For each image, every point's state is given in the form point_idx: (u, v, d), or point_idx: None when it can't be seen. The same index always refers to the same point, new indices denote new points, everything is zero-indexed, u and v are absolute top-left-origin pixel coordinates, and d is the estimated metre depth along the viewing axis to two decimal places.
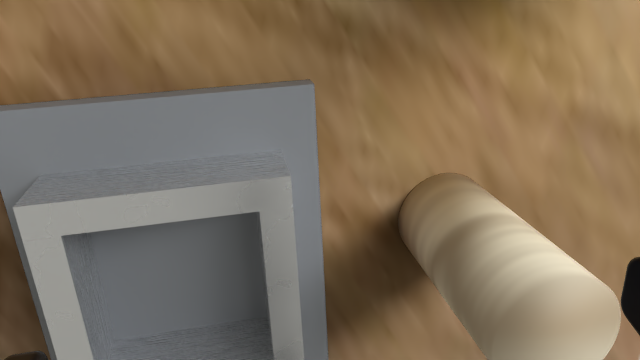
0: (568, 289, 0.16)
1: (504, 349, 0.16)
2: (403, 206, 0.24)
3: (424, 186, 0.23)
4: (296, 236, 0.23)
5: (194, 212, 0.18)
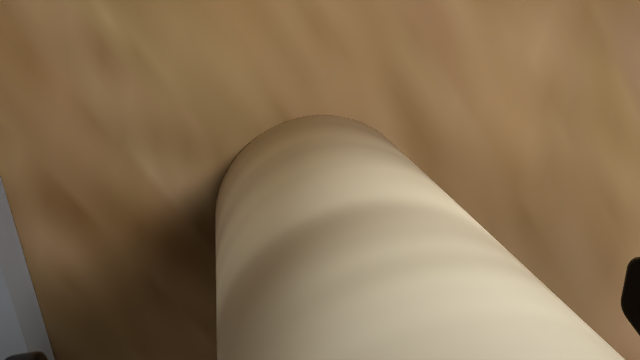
0: None
1: None
2: (219, 190, 0.11)
3: (259, 143, 0.10)
4: None
5: None
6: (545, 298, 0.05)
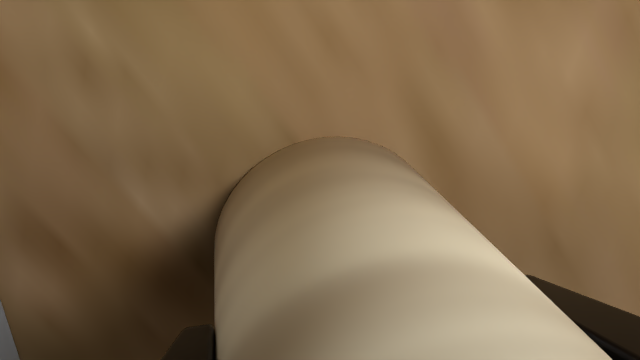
0: None
1: None
2: (219, 221, 0.09)
3: (264, 170, 0.09)
4: None
5: None
6: None
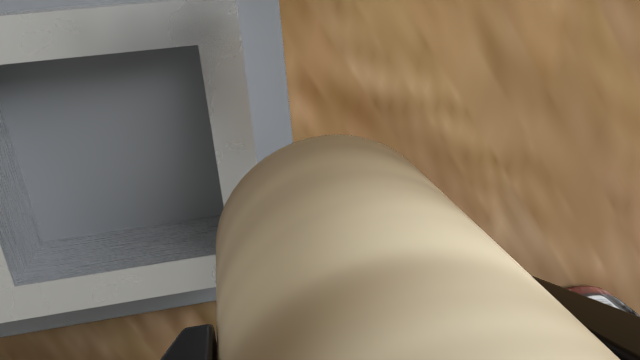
0: None
1: None
2: (220, 219, 0.09)
3: (265, 167, 0.09)
4: (258, 110, 0.19)
5: (113, 43, 0.14)
6: None
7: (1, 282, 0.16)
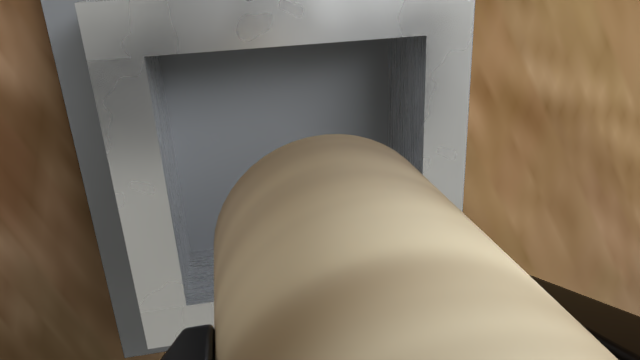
0: None
1: None
2: (218, 219, 0.09)
3: (264, 167, 0.09)
4: None
5: (336, 30, 0.12)
6: None
7: (173, 301, 0.14)
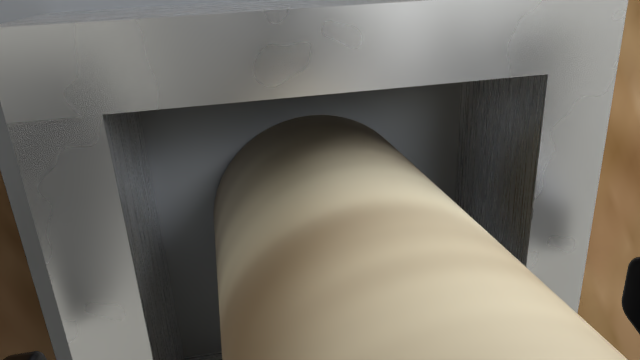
0: None
1: None
2: (218, 190, 0.11)
3: (258, 143, 0.10)
4: None
5: (412, 68, 0.08)
6: (546, 297, 0.05)
7: None
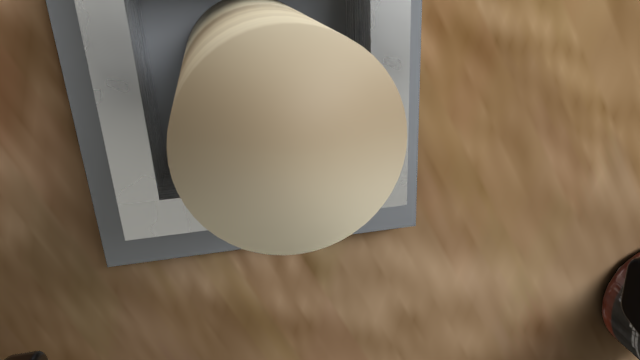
0: (292, 50, 0.09)
1: (191, 166, 0.09)
2: (187, 41, 0.17)
3: (210, 8, 0.16)
4: None
5: None
6: None
7: (147, 194, 0.16)
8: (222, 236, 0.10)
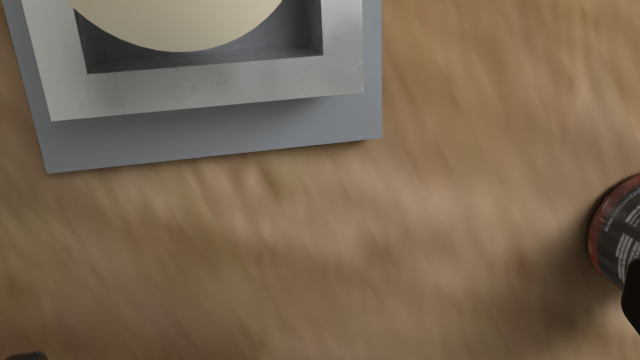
0: None
1: None
2: None
3: None
4: None
5: None
6: None
7: (73, 67, 0.14)
8: (94, 20, 0.08)
